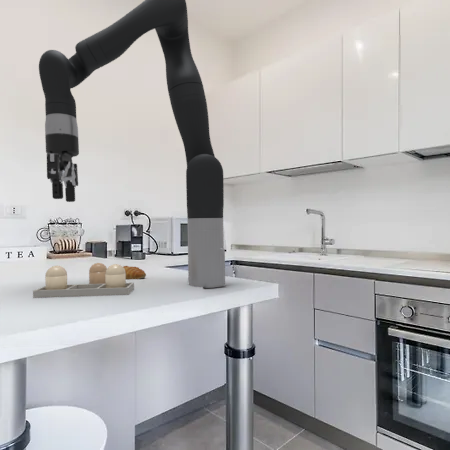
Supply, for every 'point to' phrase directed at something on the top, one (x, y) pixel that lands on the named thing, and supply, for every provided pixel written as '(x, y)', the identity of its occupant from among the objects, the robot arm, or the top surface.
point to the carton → (83, 291)
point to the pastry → (134, 273)
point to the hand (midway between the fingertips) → (64, 200)
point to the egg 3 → (115, 276)
